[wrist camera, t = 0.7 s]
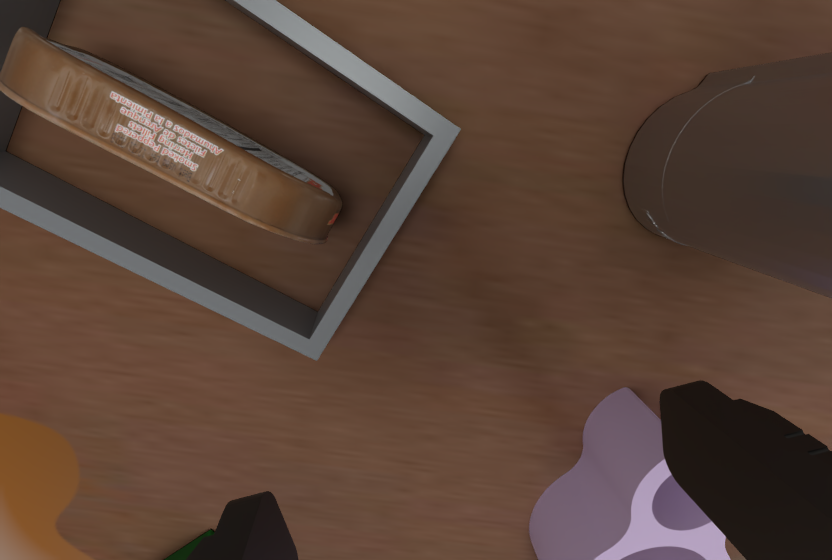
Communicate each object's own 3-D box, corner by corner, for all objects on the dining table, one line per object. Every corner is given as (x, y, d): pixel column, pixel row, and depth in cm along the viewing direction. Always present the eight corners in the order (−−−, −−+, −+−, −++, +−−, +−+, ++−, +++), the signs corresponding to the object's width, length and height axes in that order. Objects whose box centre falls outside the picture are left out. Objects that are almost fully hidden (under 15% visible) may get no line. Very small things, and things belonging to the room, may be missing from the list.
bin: (78, -126, 20) (11, -184, 17) (448, 129, 26) (460, 129, 22) (-20, 157, 24) (-94, 162, 20) (324, 330, 29) (316, 360, 25)
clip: (571, 381, 32) (621, 444, 26) (719, 395, 34) (801, 457, 28) (510, 577, 39) (538, 668, 32) (639, 580, 40) (690, 667, 34)
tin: (75, 94, 23) (-78, 76, 15) (95, 38, 23) (-55, -12, 15) (330, 230, 27) (312, 271, 19) (354, 185, 26) (346, 208, 18)
